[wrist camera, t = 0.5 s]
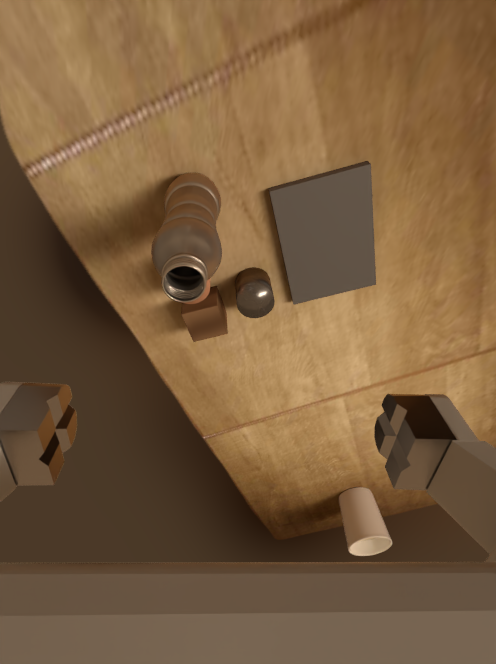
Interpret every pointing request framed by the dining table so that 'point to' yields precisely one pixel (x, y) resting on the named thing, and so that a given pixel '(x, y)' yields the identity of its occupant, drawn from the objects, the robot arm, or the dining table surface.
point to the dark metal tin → (254, 293)
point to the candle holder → (363, 522)
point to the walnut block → (206, 317)
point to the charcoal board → (326, 232)
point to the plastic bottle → (188, 237)
